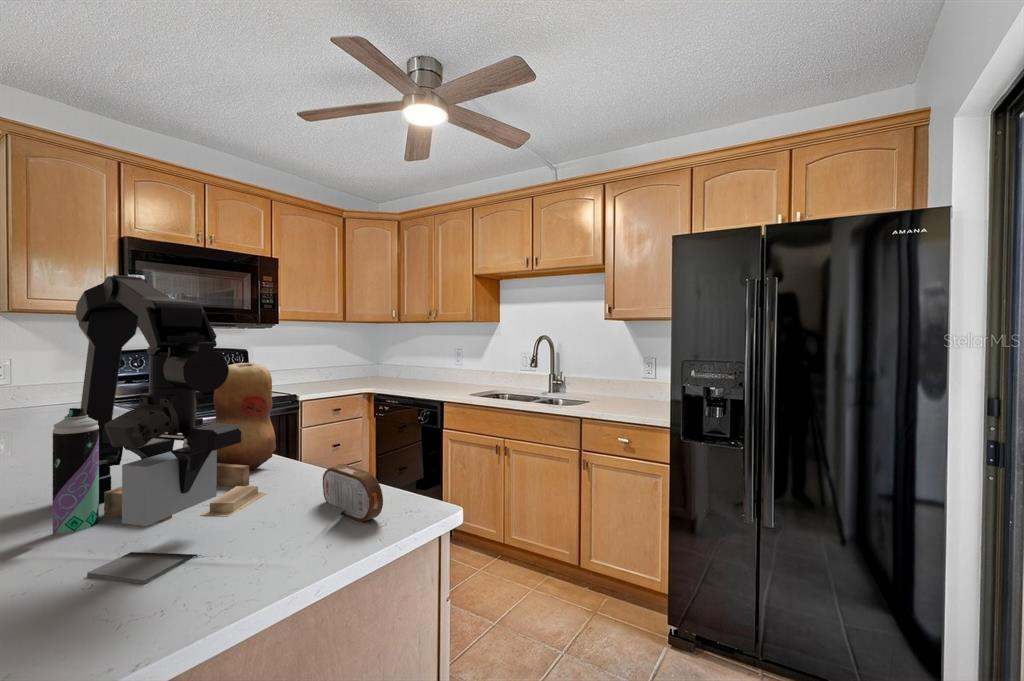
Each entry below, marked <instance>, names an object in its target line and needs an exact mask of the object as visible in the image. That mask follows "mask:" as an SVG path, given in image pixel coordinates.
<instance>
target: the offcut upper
mask: <svg viewBox="0 0 1024 681" xmlns="http://www.w3.org/2000/svg"><path fill="white" fill-rule="evenodd" d="M258 492H259V486H257V485H256V486H255V485H254V486H253V485H251V486H250V485H248V486H236V487H233V488H231V489H230V490H228V491H227V492H225V493H223V494H222V495H220V496H219V497H217V498H215V499H214V500H212V501H211V502H209V510H210V512H234V511H236V510H237V509H239V508H240V507H241V506H243V505H244V504H246V503H247V502H248V501H250V500H251V499H253V498H254V497H255V496H257V495H258Z"/></svg>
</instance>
